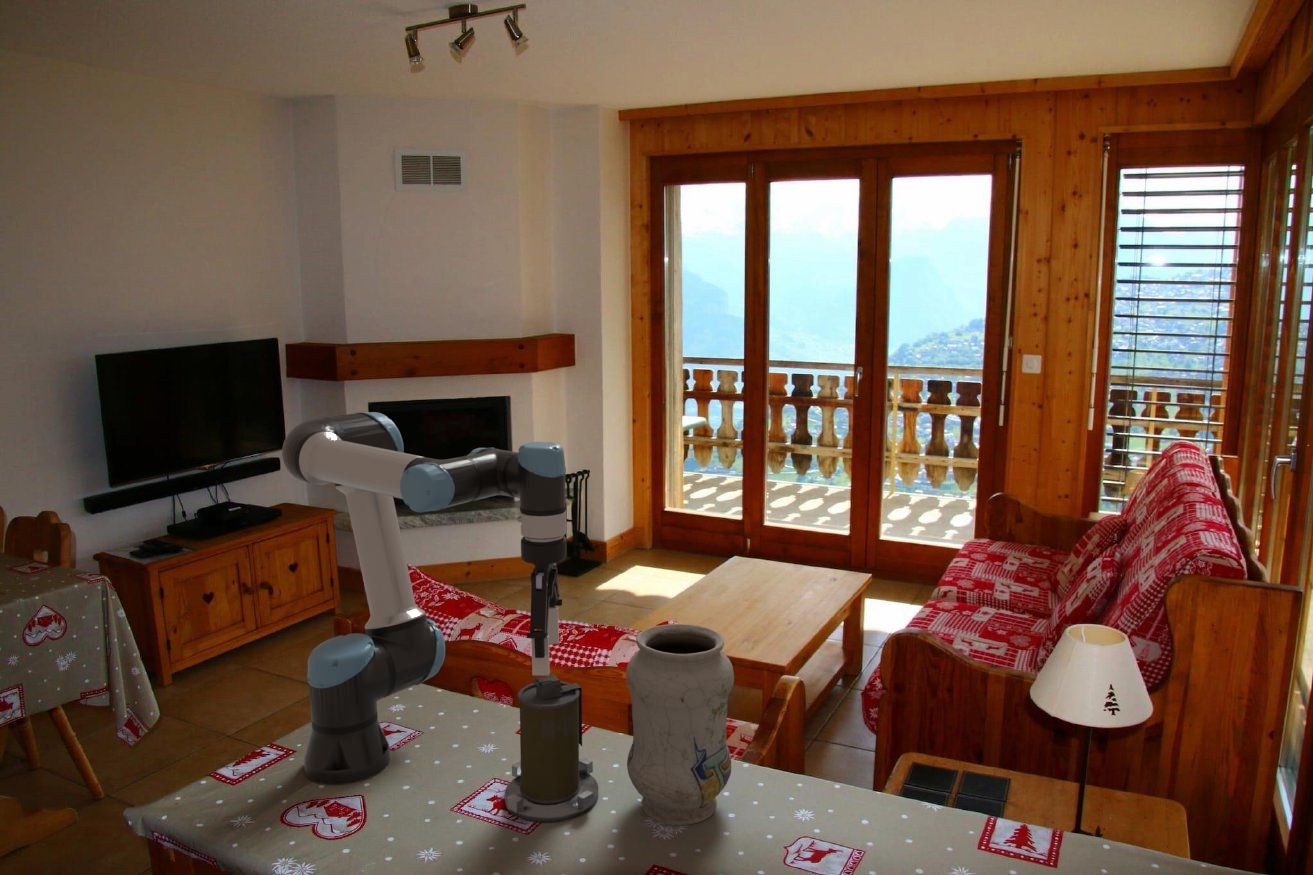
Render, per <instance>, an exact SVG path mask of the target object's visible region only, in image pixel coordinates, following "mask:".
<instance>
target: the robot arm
mask: <svg viewBox="0 0 1313 875" xmlns="http://www.w3.org/2000/svg"><path fill="white" fill-rule="evenodd" d="M281 448H282V449H281V456H282V462H283V464H284V467H285V468H286V470H287V471H288V472H289V473H290V474H291V475H292V477H294V478H296V479H297V480H299V481H303V482H304V483H308V484H313V485H316V486H317V485H318V486H325V485H329V484H331V483H334V487H335V489H336V490H338V491H339V492H340V493H342V494H344V495H345V498H346V503H347V504H346V505H347V508H348V514H349V519H350V523H351V527H352V532H353V537H354V542H355V546H356V547H355V548H356V551H357V556H358V562H359V565H360V566H359V567H360V571H361V574H362V580H363V583H364V585H363V586H364V589H365V595H366V600H367V604H368V608H369V614H370V617H369V619H368V621H367V622H366V624H364V630H365V634H364V633H358V632H357V633H356V632H355V633H348V634H346V635H342V634H341V635H337V636H334V637H331V638H329V639H327V640H325V641H323V642H321V643H319V644H318V645H317V646H316V647H314V648H313V650H312V651H311V652H310V653H309V657H308V658H307V674H306V679H307V680H306V681H307V683H308V691H309V693H308V694H309V695H308V696H309V705H310V706H309V707H310V718H311V719H310V720H311V732H310V735H309V736H310V737H309V740H308V743H307V744H308V745H307V748H306V752H305V755H304V758H303V759H304V760H303V764H304V774H305V776H306V777H307V778H308V779H309V780H310V781H312V782H315V783H319V784H323V785H344V784H351V783H357V782H359V781H360V782H361V781H363V780H366V779H369V778H371V777H373V776H376V775H377V774H379V773H380V772H382V771H383V770H384V769H385V768H386V767H387V766H388V765H389V763H390V761H391V753H390V752H391V751H390V744H389V742H388V739H387V737H386V735H385V732H384V731H383V729H382V726H381V724H380V722H379V717H378V716H379V714H378V713H379V712H378V701H380V700H382V699H385V698H387V697H389V696H391V695H395V694H396V693H397V694H398V693H399V692H402V691H404V690H406V689H409V688H411V687H414V686H419V685H421V684H423V683H424V682H425V681H427V680H429V679H430V678H433V677H435V675H436V674H437V673H439V671H440V669H441V668H442V666H443V664H444V662H445V658H446V642H445V638H444V635H443V632H442V630H441V629H440V628H439V627H438V624H437V622H435V621H434V620H432V619H430V618H427V614H426V611H425V610H424V609H422V608H420V607H419V606H418V605H416V602H415V595H414V592H413V586H412V582H411V577H410V573H409V572H410V571H409V567H408V563H407V559H406V558H407V557H406V553H405V547H404V543H403V540H402V534H401V530H400V529H401V528H400V524H399V518H398V514H397V510H396V504H395V500H394V498H396V499H400V500H402V501H403V502H404V504H405V505H406V506H408V507H409V509H410V510H411V511H414V512H416V513H427V512H438V511H441V510H443V509H447V508H450V507H455V506H457V505H461V504H465V503H470V502H473V501H478V500H479V501H480V500H482V499H487V498H490V497H494V496H505V497H510V498H511V497H512V498H516V499H518V498H519V512H520V515H519V516H517V517H516V521H517V523H521V524H520V534H521V536H522V538H520V557H521V560H522V561H523V562H525V563H528V564H532V565H534V567H533V571H531V572H530V582H531V587H530V588H531V592H530V615H529V616H530V617H529V618H530V620H529V632H526V639H531V669H532V670H531V671H532V676H546V675H549V674H551V672H550V670H551V669H550V645H559V644H560V634H559V633H560V632H559V631H560V630H559V629H560V628H559V607H562V606H563V599H562V598H561V599H560V591H559V590H560V589H559V581H558V568H557V564H558V563H560V562H563V561H564V560H566V558H567V556H568V554H567V552H568V550H567V538H566V536H565V535H566V534H567V531H568V529H567V508H566V507H567V506H566V474H567V468H566V460H565V451H564V448H563V446H562V445H561V444H559V443H556V442H552V441H551V442H550V441H533V442H532V441H530V442H526V443H523V444H521V445H520V446H519V447H518V451H517V452H516V451H511V450H504V449H499V448H497V447H477V448H475V449H472V451H470V453H468V454H467V455H464V456H457V457H453V458H447V459H436V458H430V457H426V456H420V455H416V454H411V453H406V452H404V450H405V449H404V448H405V447H404V442H403V437H402V435H401V432H400V430H399V428H398V427H397V425H396V424H395V423H394V421H393V420H392V419H390V418H389V417H388V416H387V415H385V414H383V413H381V412H376V411H374V412H373V411H372V412H365V411H361V412H355V413H350V414H349V413H348V414H341V415H336V416H328V417H319V418H313V419H308V420H306V421H303V422H300V423H299V424H297V425H296V426H295V427H293V428H292V429H291V430H290V431H289V432H288V434H287V435H286V437H285V439H284V440H283V445H282V447H281Z"/></svg>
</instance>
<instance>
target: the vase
mask: <svg viewBox="0 0 1313 875" xmlns="http://www.w3.org/2000/svg"><path fill="white" fill-rule="evenodd" d="M635 644H636V646H637V648H638V650H637V651H635V653H634V654H633V655H632V656H631V658H630V659H629V661H628V663H627V667H626V671H625V678H626V679H625V680H626V685H627V689H628V690H629V693H630V696H631V717H632V724H633V725H632V726H633V728H632V730H633V731H632V732H633V734H632V735H633V736H632V737H633V738H632V740H633V741H632V743H631V746H630V749H629V752H628V755H627V760H626V767H627V768H626V769H627V773H628V777H629V779H630V781H631V783H632V785H633V787H634V788H635V790H636V791H637V793H638V794H639V795H641V797H642V799H641V807H642V809H643V812H645V814H646V815H647V816H648V817H649V818H650V819H652V820H653V821H656V822H659V824H665V825H670V826H685V825H686V826H687V825H693V824H697V823H701V822H703V821H704V820H706V819H708V818H710V817H712V815H713V814H714V813H715V811H716V809H717V806H718V801H717V797H718V796H719V795H720V793H722V791H723V789H725V787H726V786H727V784H728V782H729V779H730V777H731V774H732V757H731V752H730V750H729V747H728V743H727V721H728V720H727V719H728V698H729V696H730V693H731V691H732V689H733V686H734V683H735V682H734V681H735V674H734V673H735V672H734V666H733V664H732V662H731V660H730V658H729V657H728V656H727V655H726V654H725V652H723V651H722V650H723V648H724V645H725V640H724V636H722V634H721V633H719V632H718V631H716V630H714V629H712V628H709V627H706V626H703V625H702V626H701V625H695V624H686V623H684V624H683V623H671V624H670V623H669V624H662V625H655V626H651V627H648V628H646V629H644V630H641V631H640V632H639V633H638V635H637V636H636V638H635Z"/></svg>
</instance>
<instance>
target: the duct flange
mask: <svg viewBox="0 0 1313 875" xmlns="http://www.w3.org/2000/svg"><path fill="white" fill-rule="evenodd" d="M593 772H594V766H593V760H591V759H589V758H586V757H583V756H582V757H581V758H580V757H579V782H580V790H579V792H578V793H577V794H576V795H575V796H573V797H572V798H570V799H568V800H566V801H562V802H559V803H550V804H542V803H537V802H532V801H529V800H528V799H526V798H524V797H523V796H522V794H521V792H520V784H521V760H519V761H518V762H515V763H513V764H512V765H511V773H512V777H514V778H513V779H512V780H511V781H510V782H509V783H508V784H507V786H506V787H505V791H504V803H505V808H506V809H507V811H508V812H509V813H510V814H511V815H513V816H515V817H516V818H518V819H520V820H523V821H527V822H529V823H530V822H532V823H538V824H552V823H554V822H555V823H562V822H566V821H569V820H573V819H575V818H578V817H581V816H583V815H584V814H587V813H588V812H589V811H591V809H593V808H594V806H595V805H596V804H597V802H598V799H599V785H598V784H599V783H598V782H597V780H596V779H595V777H594V776H593V775H592V774H591V773H593Z"/></svg>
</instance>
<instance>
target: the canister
mask: <svg viewBox="0 0 1313 875" xmlns="http://www.w3.org/2000/svg"><path fill="white" fill-rule="evenodd" d="M517 699H518V701H519V735H520V736H519V737H520V738H519V739H520V740H519V741H520V761H521V784H520V792H521V794H522V796H523V797H524V798H526V799H528V800H529V801H532V802H537V803H542V804H550V803H559V802H562V801H566V800H568V799H570V798H572V797H573V796H575V795H576V794H577V793H578V792H579V790H580V782H579V759H580V746H581V747H583V689H582V687H581V686H580V685H579V684H578V683H577V682H575V683H569V682H567V681H566V682H565V681H560V679H559V678H558V677H557V676H556V675H555V674H553V673H550V674H549V675H542V676H540V677H535V679H534V678H533V679H532V682H531V683H530V684H527V685H526V686H524V687H523V688H521V689H520V690H519V691H518V693H517Z"/></svg>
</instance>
